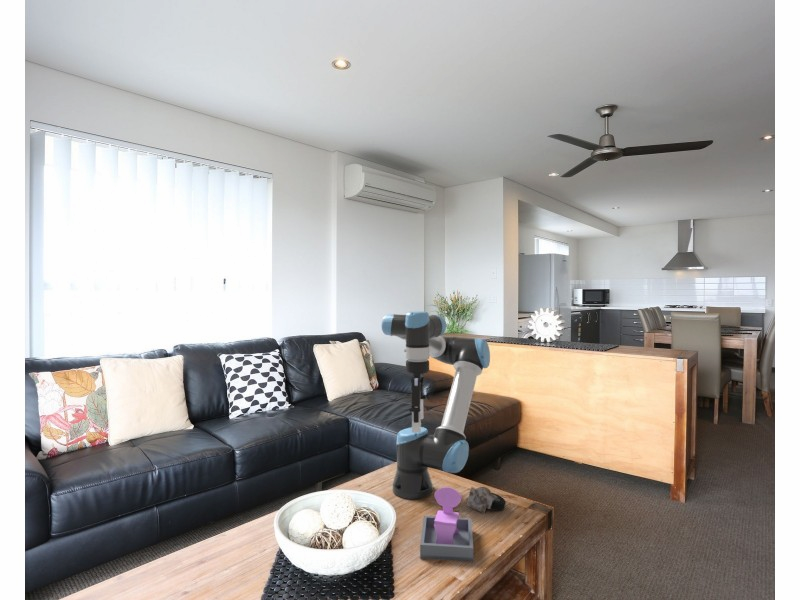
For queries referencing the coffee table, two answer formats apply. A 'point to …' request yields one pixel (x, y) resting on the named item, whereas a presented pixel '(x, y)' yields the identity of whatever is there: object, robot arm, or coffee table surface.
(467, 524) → the tray
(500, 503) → the grey brown rock
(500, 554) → the coffee table surface
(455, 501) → the toy chair
